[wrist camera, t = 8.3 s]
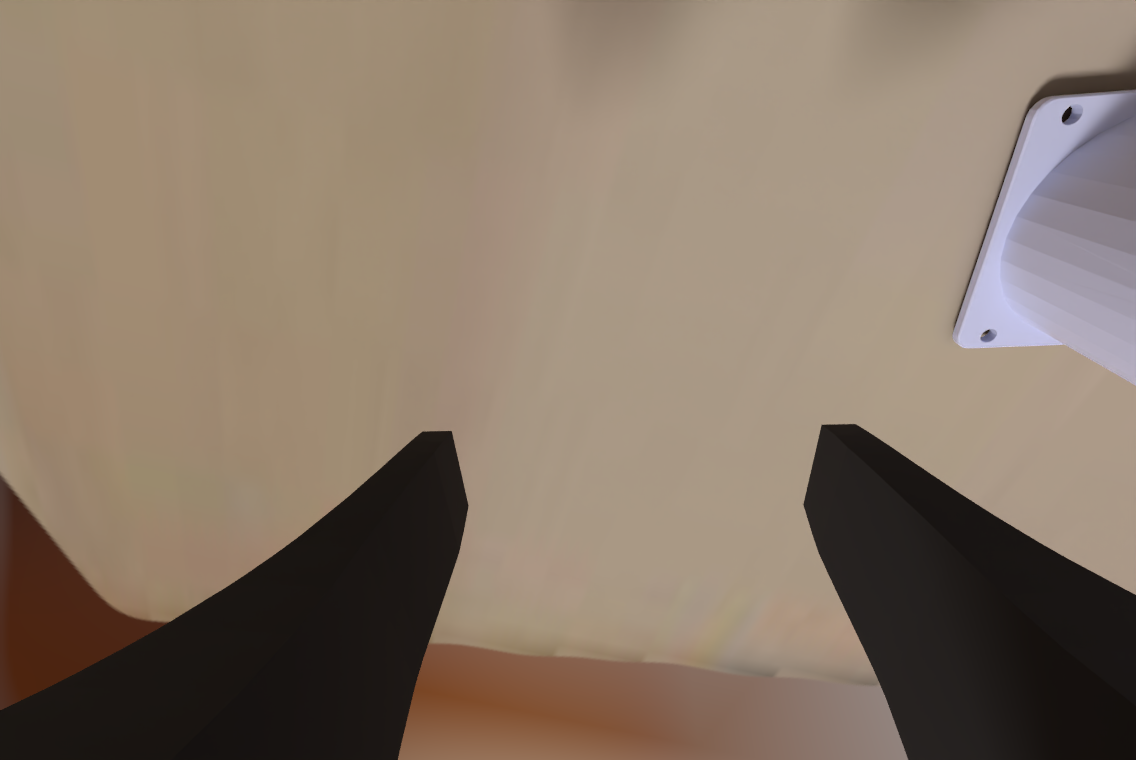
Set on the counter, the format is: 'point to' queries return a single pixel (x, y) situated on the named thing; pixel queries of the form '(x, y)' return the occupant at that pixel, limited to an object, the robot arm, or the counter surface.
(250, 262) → the counter surface
